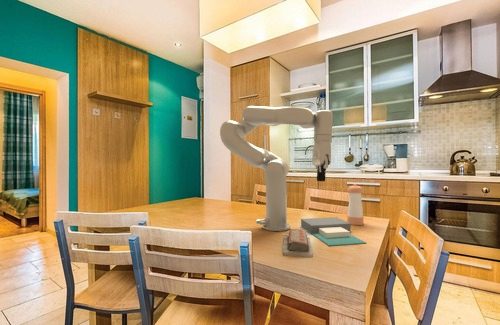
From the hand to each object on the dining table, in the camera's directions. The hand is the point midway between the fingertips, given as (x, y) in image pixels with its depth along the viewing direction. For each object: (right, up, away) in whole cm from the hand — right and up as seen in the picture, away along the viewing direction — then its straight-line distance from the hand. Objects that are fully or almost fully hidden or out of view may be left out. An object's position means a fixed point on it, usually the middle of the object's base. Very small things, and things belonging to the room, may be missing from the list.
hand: (320, 181), depth 107 cm
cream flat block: (+4, -22, -6) cm, 23 cm away
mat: (+4, -22, -10) cm, 24 cm away
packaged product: (-14, -23, -18) cm, 33 cm away
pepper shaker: (+21, -22, +13) cm, 33 cm away
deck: (+3, -22, +4) cm, 22 cm away
